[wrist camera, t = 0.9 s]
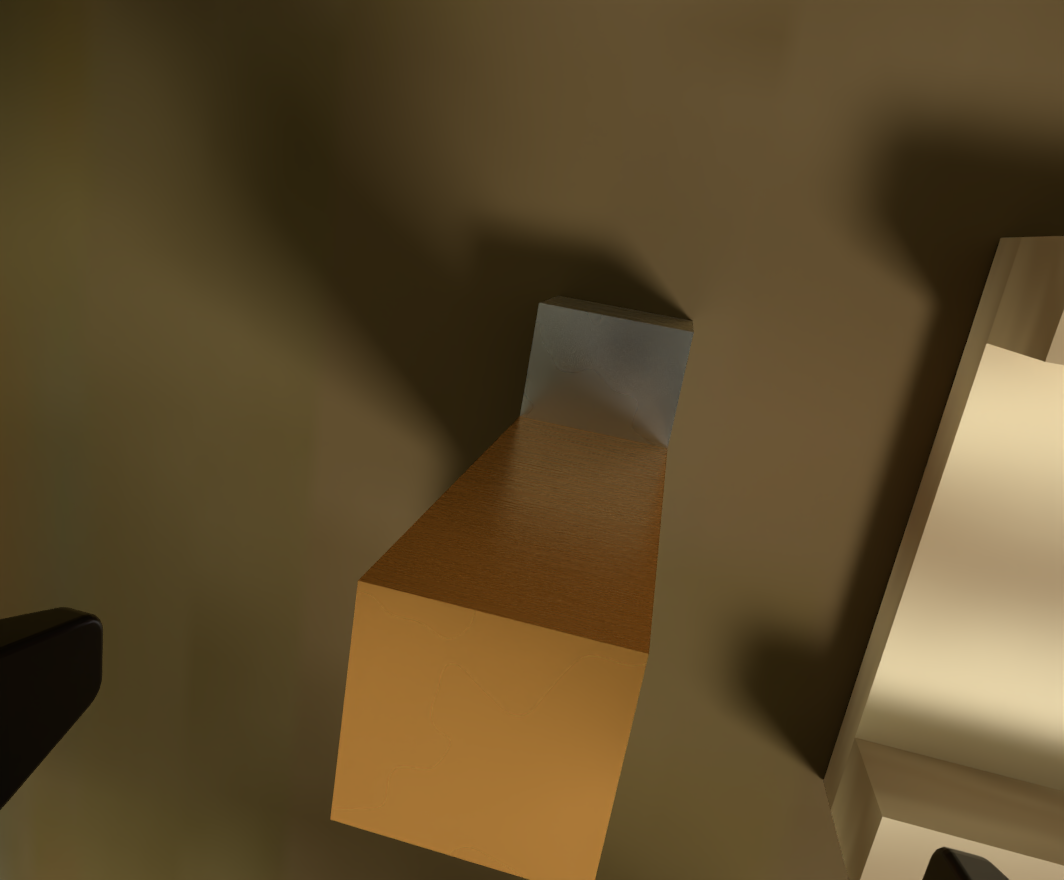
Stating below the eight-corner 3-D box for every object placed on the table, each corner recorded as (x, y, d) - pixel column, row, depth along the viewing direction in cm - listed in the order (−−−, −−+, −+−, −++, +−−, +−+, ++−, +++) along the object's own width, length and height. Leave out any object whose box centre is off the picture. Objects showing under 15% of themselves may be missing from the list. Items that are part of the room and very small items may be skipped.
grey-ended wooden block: (623, 627, 19) (553, 1055, 9) (505, 598, 19) (312, 974, 9) (692, 320, 17) (703, 426, 7) (558, 295, 17) (384, 361, 7)
